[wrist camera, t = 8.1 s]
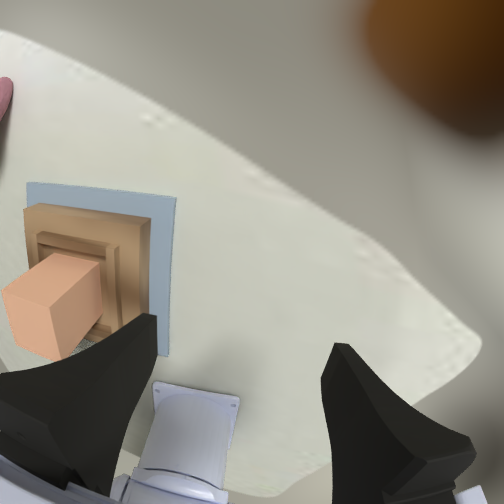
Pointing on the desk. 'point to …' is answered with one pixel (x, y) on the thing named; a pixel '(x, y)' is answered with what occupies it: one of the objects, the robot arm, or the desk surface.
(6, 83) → the video game controller
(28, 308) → the terracotta block
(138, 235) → the walnut plinth
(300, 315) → the desk surface
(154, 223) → the mat
